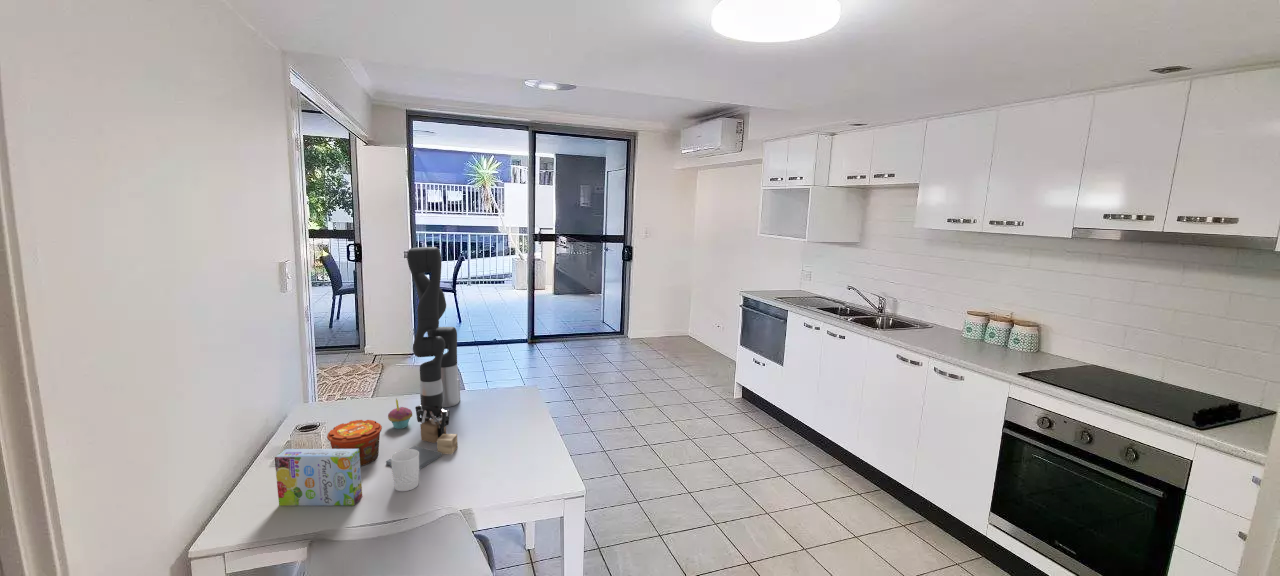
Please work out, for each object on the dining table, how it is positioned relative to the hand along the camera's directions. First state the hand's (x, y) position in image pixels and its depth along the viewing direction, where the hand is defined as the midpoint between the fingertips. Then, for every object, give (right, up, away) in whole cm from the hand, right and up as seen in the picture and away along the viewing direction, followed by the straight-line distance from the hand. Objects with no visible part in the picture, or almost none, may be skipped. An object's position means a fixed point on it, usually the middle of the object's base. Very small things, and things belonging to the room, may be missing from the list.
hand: (433, 435), depth 193 cm
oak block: (+8, -3, -9) cm, 12 cm away
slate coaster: (0, -4, -16) cm, 16 cm away
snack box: (-17, -8, -40) cm, 44 cm away
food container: (-20, -4, -15) cm, 25 cm away
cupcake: (-16, 0, +10) cm, 19 cm away
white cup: (+4, -7, -31) cm, 32 cm away
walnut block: (0, -1, 0) cm, 1 cm away
